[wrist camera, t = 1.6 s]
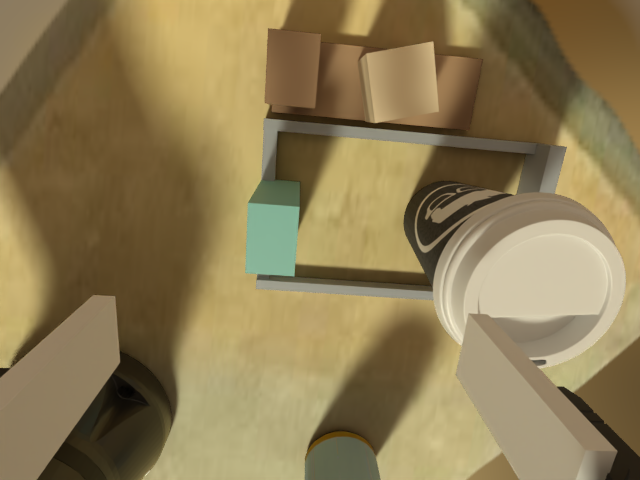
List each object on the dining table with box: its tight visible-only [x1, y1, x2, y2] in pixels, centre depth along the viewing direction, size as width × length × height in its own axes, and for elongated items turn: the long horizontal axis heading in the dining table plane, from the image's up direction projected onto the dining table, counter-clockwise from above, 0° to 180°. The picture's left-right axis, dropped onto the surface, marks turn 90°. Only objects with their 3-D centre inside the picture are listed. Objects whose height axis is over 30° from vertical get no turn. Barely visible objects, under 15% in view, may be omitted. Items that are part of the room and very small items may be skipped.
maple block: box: [358, 41, 439, 123], centre depth 28 cm, size 4×4×4 cm
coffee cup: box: [404, 181, 626, 368], centre depth 27 cm, size 10×10×15 cm
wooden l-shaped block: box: [265, 28, 483, 130], centre depth 27 cm, size 15×5×7 cm, turn 85°
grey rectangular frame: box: [245, 118, 567, 300], centre depth 29 cm, size 22×14×9 cm, turn 85°
